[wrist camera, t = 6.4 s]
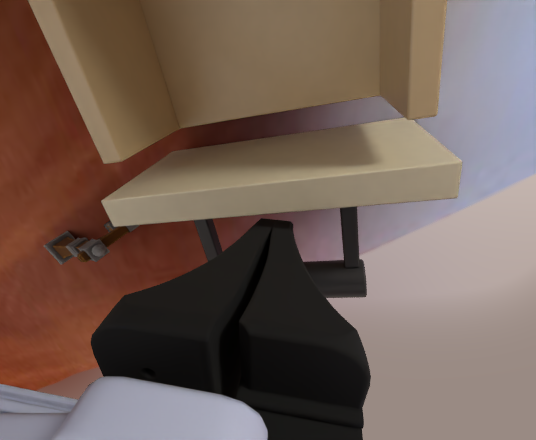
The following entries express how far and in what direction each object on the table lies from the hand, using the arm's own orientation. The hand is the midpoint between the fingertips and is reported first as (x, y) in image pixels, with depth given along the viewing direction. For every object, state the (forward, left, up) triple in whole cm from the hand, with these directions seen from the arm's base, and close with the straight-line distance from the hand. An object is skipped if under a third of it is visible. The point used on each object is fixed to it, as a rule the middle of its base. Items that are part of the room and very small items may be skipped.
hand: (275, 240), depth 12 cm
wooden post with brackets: (-13, +6, -6) cm, 15 cm away
